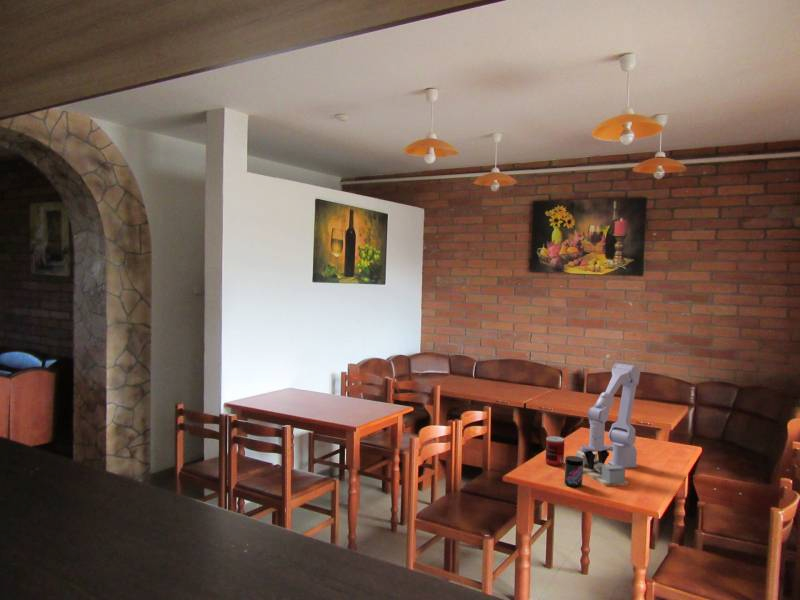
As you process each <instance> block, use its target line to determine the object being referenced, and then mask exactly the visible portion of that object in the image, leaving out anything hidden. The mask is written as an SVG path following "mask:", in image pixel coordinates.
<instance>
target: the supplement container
mask: <svg viewBox="0 0 800 600" xmlns="http://www.w3.org/2000/svg"><path fill="white" fill-rule="evenodd" d="M564 461H565V462H564V464H565V465H564V484H565V486H567V487H569V488H575V489H576V488H577V487H578V488H581V487H582V486H583V479H584V478H583V475H584V473H583V458H581V457H577V456H576V455H566V456H564Z"/></svg>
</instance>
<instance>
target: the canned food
mask: <svg viewBox="0 0 800 600" xmlns="http://www.w3.org/2000/svg"><path fill="white" fill-rule="evenodd" d="M564 461H565V438H563V437H561V436H554V435H550V436H547V437H546V439H545V463H546V465H549V466H551V467H552V466H553V467H561V466H562V467H563V465H564V464H565V462H564Z"/></svg>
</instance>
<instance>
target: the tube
mask: <svg viewBox="0 0 800 600" xmlns="http://www.w3.org/2000/svg"><path fill="white" fill-rule="evenodd" d="M584 464H585V465H587V466H588V462H587V459H586V456H585V461H584ZM602 465H606V464H605V463H604V464H603V463H601V462H600V461H598V459H597V460H596V459H594V465H593V469H594V470H596V471H597V472H599V473H601V474H602Z"/></svg>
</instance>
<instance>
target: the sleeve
mask: <svg viewBox="0 0 800 600" xmlns="http://www.w3.org/2000/svg"><path fill="white" fill-rule="evenodd" d="M593 454H595V458H594V459H596V460H598V453H596V452H593ZM575 456H577V457H581V458H583V467H584V461H585V454H584V453H582V452H580V450H576V451H575Z"/></svg>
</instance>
